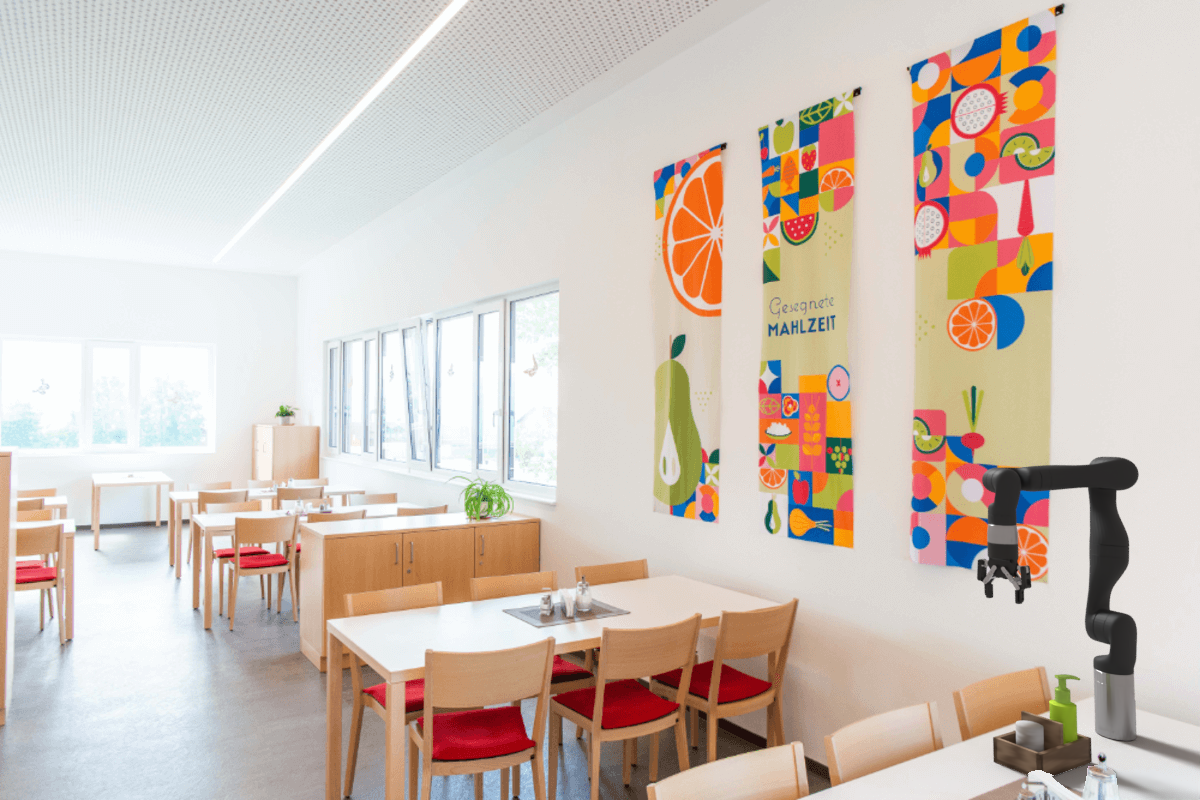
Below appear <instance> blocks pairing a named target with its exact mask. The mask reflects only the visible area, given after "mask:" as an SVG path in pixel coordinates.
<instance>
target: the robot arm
mask: <svg viewBox="0 0 1200 800" xmlns="http://www.w3.org/2000/svg"><path fill="white" fill-rule="evenodd" d="M1138 480H1139V468H1138V467H1137V465H1136V464H1135V463H1134V462H1133V461H1131V460H1130V459H1128V458H1125V457H1119V456H1098V457H1095V458H1093V459H1092V460H1091V461H1090V463H1089V464H1067V465H1066V464H1046V465H1045V464H1043V465H1030V466H1022V467H1012V466H1011V467H1009V466H1007V467H992V468H989V469H987V470H986V471H985V472H984V473H983V475H982V479H981V481H982V482H981V483H982V485H983V487H984V488H985V489H986V490H987V491H988V492H990V493H993V494H994V501H993V502H991V503H990V504H988V506H987V532H986V535H987V536H986V537H987V538H986V541H987V543H986V544H987V557H988V559H987V558H980V559H979V558H978V560H977V567H976V568H977V569H976V570H977V572H976V579H977V580H978V581H980V582H982V583H983V586H984V588H983V589H984V595H985V597H986V598H987V599H992V598H994V584H993V583H994V581H995V580H996V579H1000V578H1001V579H1003V580H1008V582H1009V583H1010V584H1012V585H1013V587H1014V588H1015V589H1014V596H1015V597H1014V599H1015V600H1014V601H1015V602H1014V603H1015V604H1016V605H1021V604H1023V603H1024V601H1025V590H1027V589H1030V588H1032V576H1031V567H1030V565H1027V564H1026V565H1019V563H1018V561H1019V531H1018V526H1017V525H1018V524H1017V522H1018V521H1017V519H1018V518H1017V509H1018V508H1017V507H1018V505H1019V502H1020V501H1019V500H1020V496H1021V492H1022V491H1023V492H1033V493H1034V492H1046V491H1047V492H1048V491H1049V492H1051V491H1061V490H1069V489H1070V490H1071V489H1083V488H1086V489H1087V492H1088V499H1089V500H1088V501H1089V539H1088V540H1089V545H1088V546H1089V548H1088V550H1089V552H1088V553H1089V555H1088V556H1089V561H1088V562H1089V573H1088V575H1089V576H1088V590H1087V599H1086V607H1085V615H1084V616H1085V617H1084V627H1085V631H1086V634H1087V636H1088V637H1089V638H1090V639H1091V640H1093V641H1095V642H1097V643H1103V644H1107V645H1109V652H1108V654H1101V655H1100V654H1099V655H1096V656H1094V658H1093V661H1092V662H1093V663H1092V664H1093V666H1092V667H1093V695H1094V697H1093V699H1094V731H1095V732H1096V734H1097V735H1099V736H1102V737H1104V738H1107V739H1112V740H1117V741H1128V742H1129V741H1134V740H1136V738H1137V711H1136V710H1137V709H1136V707H1137V705H1136V698H1135V697H1136V695H1135V693H1136V692H1135V691H1136V690H1135V667H1136V662H1137V656H1138V655H1137V650H1138V647H1137V644H1138V628H1137V624H1136V620H1135V619H1134V618H1133V616H1132V615H1130V614H1127V613H1124V612H1120V611H1116V610H1111V608H1110V607H1111V603H1110V602H1111V595H1112V591H1113V589H1114V587H1115V586H1116V584H1117V583H1118V581H1119V580H1120V579H1121V577H1123V575H1124V573H1125V571H1126V570H1127V569H1128V566H1129V563H1130V538H1129V535H1128V533H1127V530H1126V527H1125V525H1124V523H1123V521H1122V519H1121V517H1120V514H1119V511H1118V507H1117V506H1118V505H1117V491H1120V492H1121V491H1125V490H1129V489H1131V488H1132V487H1133V486H1135V485H1136V483H1138ZM988 568H989V571H988V572H987V570H988ZM1018 573H1019V574H1020V575H1019V574H1018Z"/></svg>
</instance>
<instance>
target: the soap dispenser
mask: <svg viewBox="0 0 1200 800" xmlns="http://www.w3.org/2000/svg"><path fill="white" fill-rule="evenodd" d="M1054 678H1056V679H1057V680H1058V683H1057V684H1058V686H1056V687H1054V698H1053V699H1050V700H1049V702H1048V704H1049V719H1051V720H1054V721H1057V722H1060V723H1063V744H1066V743H1069V742H1072V741H1075V740H1077V733H1078V714H1077V713H1078V712H1077V711H1078V710H1077V704H1076V703H1075V702H1073V701H1072V700H1071V689H1069V688H1068V687H1067V680H1076V681H1080V680H1081V678H1080V677H1078V676H1076V675H1073V674H1066V673H1065V674H1054Z"/></svg>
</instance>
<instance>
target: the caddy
mask: <svg viewBox="0 0 1200 800" xmlns="http://www.w3.org/2000/svg"><path fill="white" fill-rule="evenodd" d="M1020 716H1021V717H1020V719H1021V720H1016V722H1015V730H1013V731H1010V732H1006V733H1002V734H999V735H996V736H993V737H992V743H993V744H992V751H993V752H992V753H993V754H992V755H993V762H994V763H995V764H998V765H1000V766H1003V767H1006V768H1007V769H1010V770H1013V771H1016V772H1019V773H1021V774H1023V775H1025V774H1026V775H1025V776H1028V775H1027V774H1028V773H1029V772H1031V771H1035V770H1042V771H1044V772H1046V773H1050V774H1052V775H1054V776H1053V777H1056V776H1058V774H1059V775H1061V774H1064V773H1067V772H1069V770H1070V771H1072V770H1074V768H1075V769H1077V767H1078V768H1080V766H1081V767H1083V766H1086V765H1088V763H1089V764H1091V763H1090V762H1093V761H1092V760H1093V757H1092V755H1093V754H1092V738H1091V737H1090V736H1087V735H1083V734H1080V733H1078V732H1077V740H1075V741H1072V742H1069V743H1066V744H1063V723H1060V722H1057V721H1054V720H1051V719H1050V718H1047V717H1044V716H1041V715H1038V714H1036V713H1035V714H1034V713H1032V712H1029V711H1026V710H1021V711H1020ZM1071 769H1072V770H1071ZM1066 771H1067V772H1066ZM1063 772H1064V773H1063ZM1060 773H1061V774H1060ZM1055 775H1056V776H1055Z"/></svg>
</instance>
